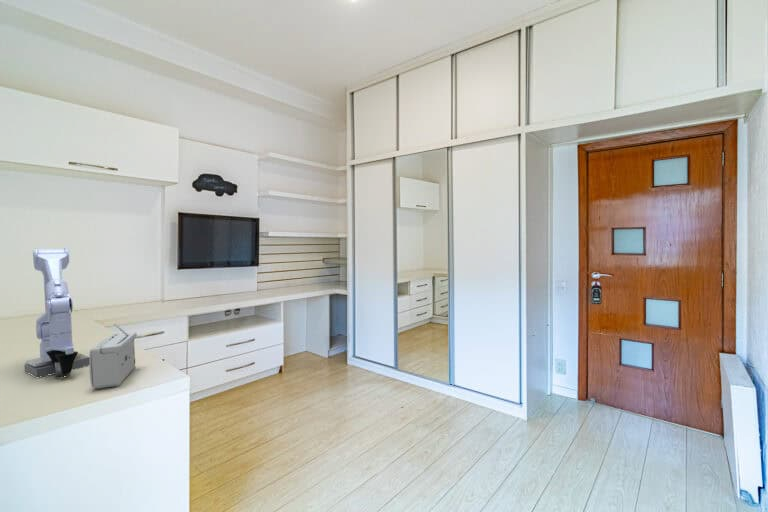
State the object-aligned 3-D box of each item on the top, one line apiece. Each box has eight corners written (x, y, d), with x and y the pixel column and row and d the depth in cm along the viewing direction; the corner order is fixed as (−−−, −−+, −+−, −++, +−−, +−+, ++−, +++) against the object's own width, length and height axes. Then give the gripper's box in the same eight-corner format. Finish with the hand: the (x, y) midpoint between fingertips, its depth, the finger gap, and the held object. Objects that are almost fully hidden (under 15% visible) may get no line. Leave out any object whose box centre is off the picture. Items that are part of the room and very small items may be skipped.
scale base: (24, 372, 132) (24, 362, 132) (76, 360, 145) (76, 351, 144) (36, 378, 126) (36, 368, 125) (90, 365, 138) (89, 356, 138)
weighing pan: (26, 363, 130) (26, 360, 130) (72, 353, 141) (72, 350, 141) (34, 366, 126) (34, 364, 126) (81, 356, 137) (81, 354, 137)
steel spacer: (53, 376, 127) (52, 362, 127) (68, 373, 130) (67, 358, 130) (57, 378, 125) (57, 364, 125) (72, 375, 128) (72, 360, 128)
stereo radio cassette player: (112, 369, 133) (109, 314, 132) (138, 366, 136) (136, 312, 135) (89, 391, 113) (86, 326, 113) (121, 387, 116) (118, 324, 116)
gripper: (38, 332, 127) (40, 371, 128) (53, 337, 120) (56, 379, 120) (63, 328, 133) (65, 365, 134) (80, 333, 126) (82, 372, 126)
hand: (62, 371), depth 128 cm, fingers open, 6 cm apart
